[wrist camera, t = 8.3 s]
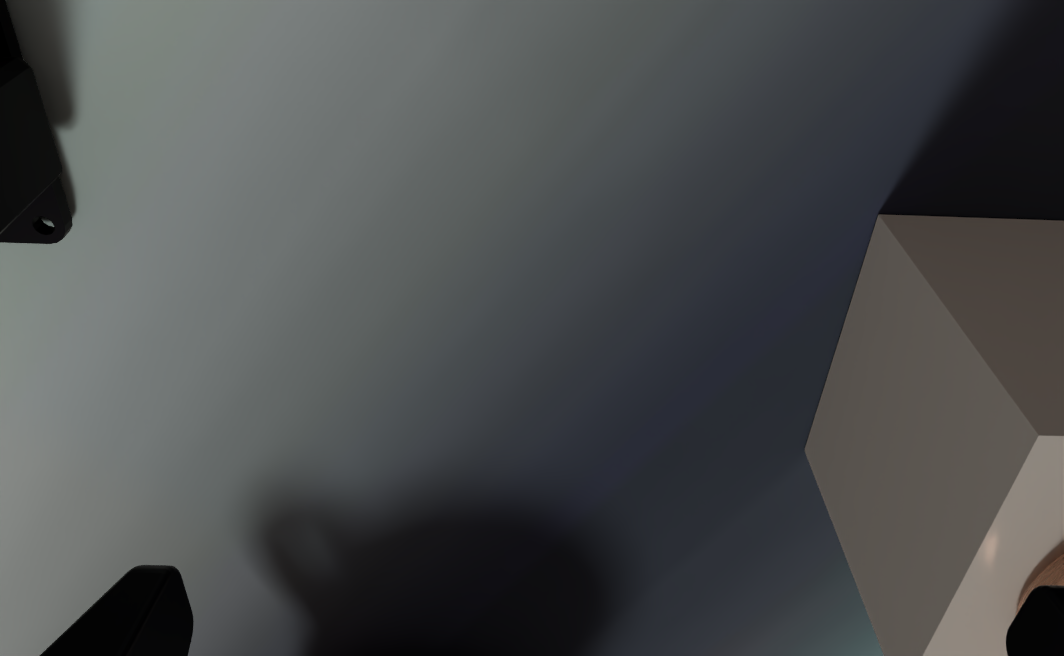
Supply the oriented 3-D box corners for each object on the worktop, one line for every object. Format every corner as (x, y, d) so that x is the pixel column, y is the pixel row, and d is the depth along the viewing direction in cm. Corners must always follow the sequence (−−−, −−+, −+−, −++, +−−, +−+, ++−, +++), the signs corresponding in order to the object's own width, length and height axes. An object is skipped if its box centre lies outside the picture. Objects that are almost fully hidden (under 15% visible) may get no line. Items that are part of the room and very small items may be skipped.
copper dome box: (791, 491, 27) (877, 739, 20) (878, 214, 21) (1039, 435, 14) (1040, 497, 27) (1205, 744, 20) (1192, 225, 21) (1489, 446, 15)
